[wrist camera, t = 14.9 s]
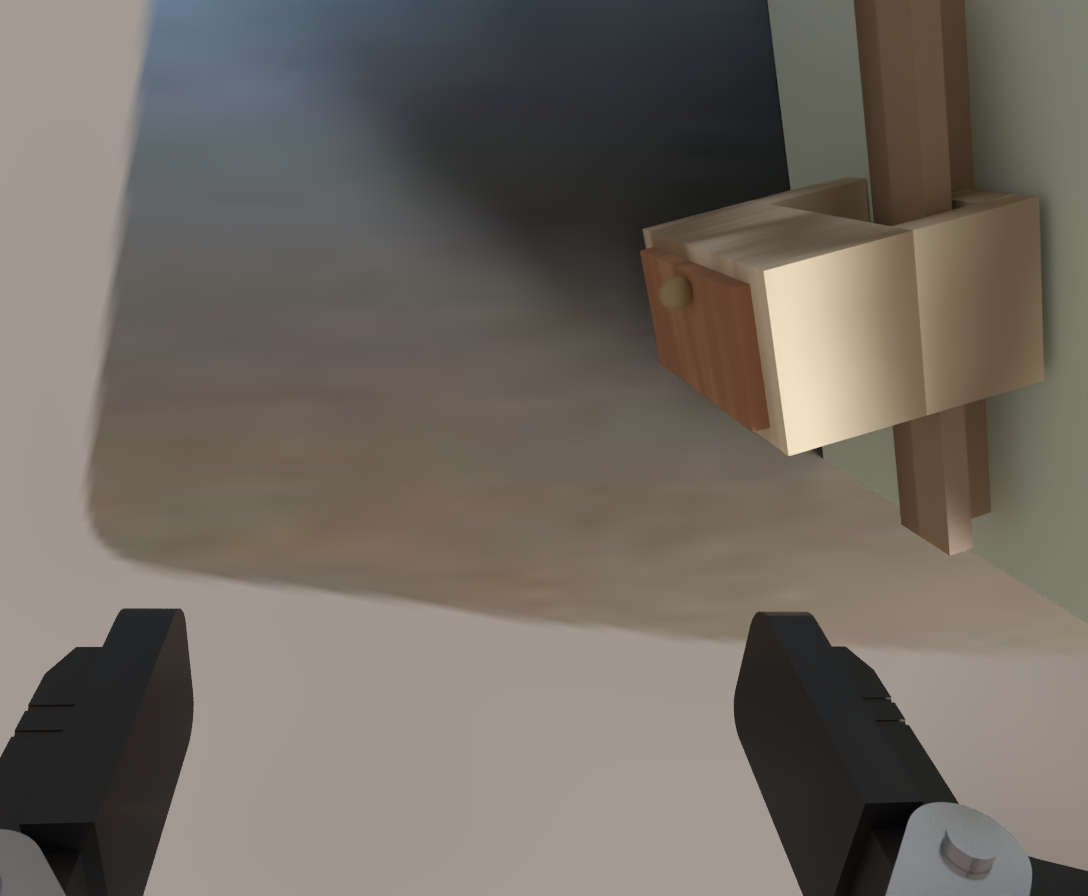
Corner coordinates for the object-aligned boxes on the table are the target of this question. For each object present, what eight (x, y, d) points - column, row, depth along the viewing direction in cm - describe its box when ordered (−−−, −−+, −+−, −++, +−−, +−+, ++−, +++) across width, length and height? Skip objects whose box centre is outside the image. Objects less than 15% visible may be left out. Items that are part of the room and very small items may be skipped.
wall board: (769, 476, 41) (1231, 814, 20) (696, -23, 34) (1298, -265, 13) (982, 408, 42) (1608, 659, 22) (957, -83, 35) (1851, -381, 15)
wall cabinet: (630, 375, 34) (739, 470, 24) (603, 238, 32) (709, 285, 23) (857, 312, 35) (1044, 380, 25) (843, 176, 33) (1039, 196, 24)
